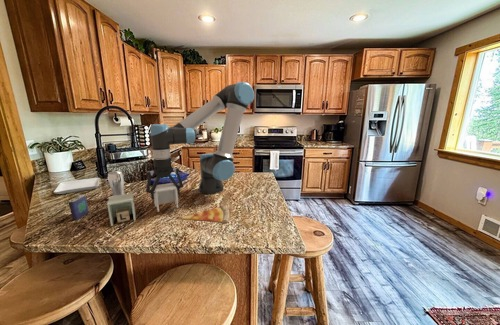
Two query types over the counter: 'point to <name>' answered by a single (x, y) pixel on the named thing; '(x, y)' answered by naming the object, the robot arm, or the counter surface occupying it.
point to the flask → (78, 207)
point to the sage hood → (120, 205)
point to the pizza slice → (211, 215)
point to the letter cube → (123, 214)
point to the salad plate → (77, 186)
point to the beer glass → (116, 182)
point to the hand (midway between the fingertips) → (166, 203)
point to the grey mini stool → (166, 194)
